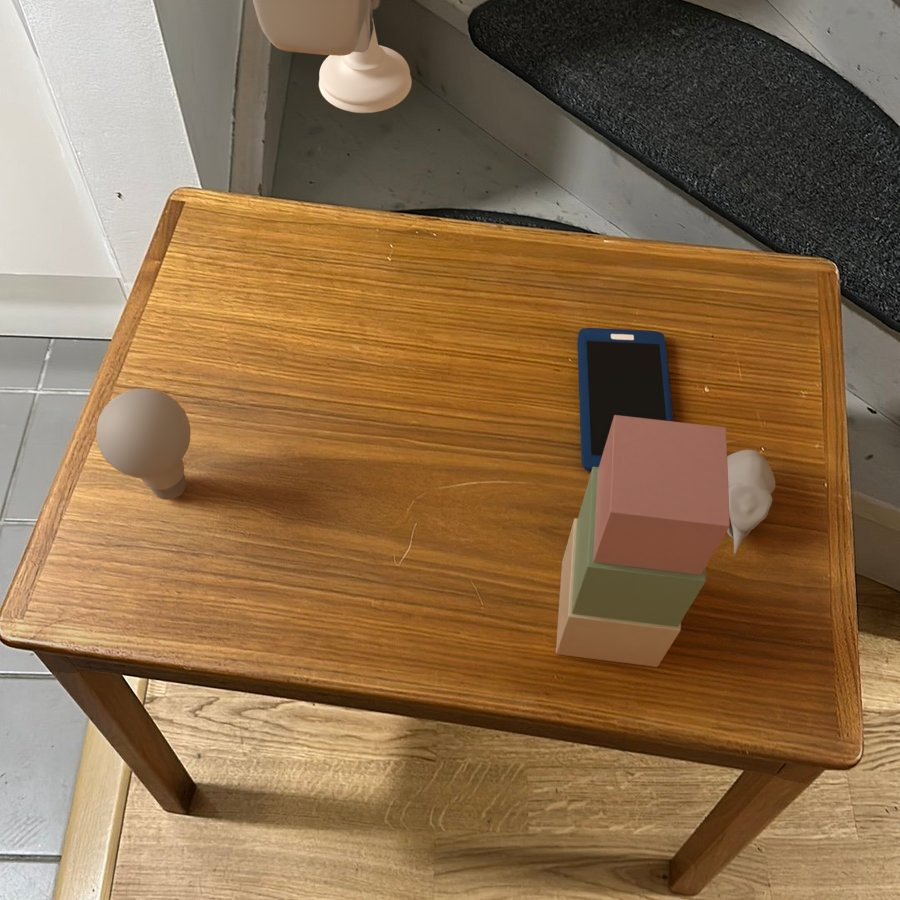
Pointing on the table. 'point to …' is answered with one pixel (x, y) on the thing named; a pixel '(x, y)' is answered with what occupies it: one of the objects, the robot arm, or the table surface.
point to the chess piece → (365, 79)
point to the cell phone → (619, 383)
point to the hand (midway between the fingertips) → (359, 21)
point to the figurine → (748, 492)
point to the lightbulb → (146, 439)
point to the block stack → (642, 540)
